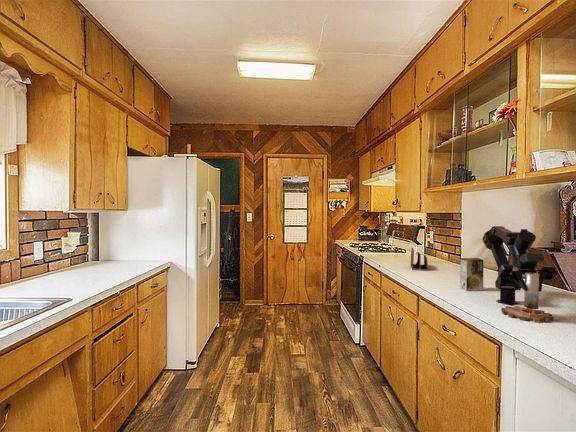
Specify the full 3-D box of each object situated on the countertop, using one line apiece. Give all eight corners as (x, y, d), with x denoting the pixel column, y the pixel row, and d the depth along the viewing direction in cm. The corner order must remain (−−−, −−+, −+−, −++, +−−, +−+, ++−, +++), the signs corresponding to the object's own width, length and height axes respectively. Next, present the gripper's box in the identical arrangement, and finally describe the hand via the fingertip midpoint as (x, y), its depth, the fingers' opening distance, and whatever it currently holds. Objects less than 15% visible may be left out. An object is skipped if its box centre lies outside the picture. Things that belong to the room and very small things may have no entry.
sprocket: (513, 306, 142) (514, 300, 142) (561, 317, 128) (561, 310, 128) (493, 313, 133) (493, 306, 133) (541, 325, 119) (541, 318, 119)
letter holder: (412, 270, 227) (412, 249, 227) (410, 265, 246) (410, 246, 246) (427, 271, 224) (428, 250, 224) (425, 266, 243) (425, 247, 243)
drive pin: (522, 305, 130) (523, 271, 129) (536, 306, 128) (537, 272, 128) (526, 308, 126) (526, 274, 125) (540, 309, 124) (541, 274, 124)
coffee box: (476, 288, 176) (476, 257, 175) (483, 291, 169) (484, 259, 169) (459, 288, 176) (459, 257, 175) (466, 291, 169) (466, 259, 169)
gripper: (500, 244, 132) (512, 277, 122) (555, 245, 128) (571, 280, 117) (493, 260, 140) (503, 293, 130) (544, 262, 136) (558, 296, 125)
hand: (533, 291), depth 125 cm, fingers closed on drive pin, 4 cm apart
